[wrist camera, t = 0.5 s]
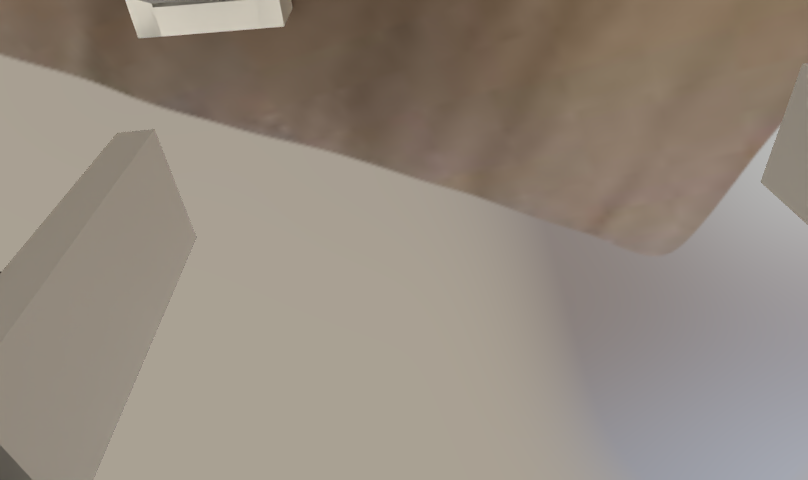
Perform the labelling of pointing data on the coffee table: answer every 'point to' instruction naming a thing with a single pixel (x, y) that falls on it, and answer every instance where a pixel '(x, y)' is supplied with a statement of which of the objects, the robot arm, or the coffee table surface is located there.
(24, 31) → the coffee table surface
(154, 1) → the rocker
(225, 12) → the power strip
